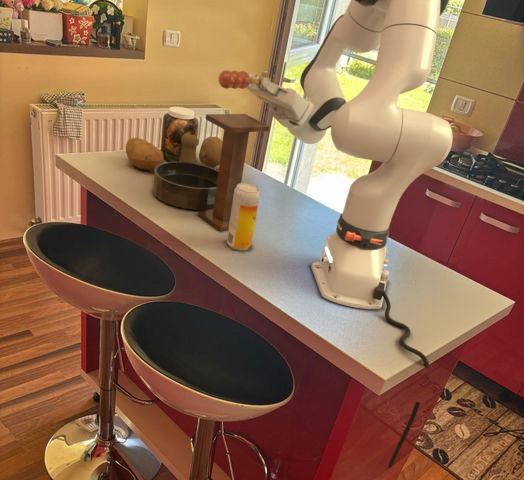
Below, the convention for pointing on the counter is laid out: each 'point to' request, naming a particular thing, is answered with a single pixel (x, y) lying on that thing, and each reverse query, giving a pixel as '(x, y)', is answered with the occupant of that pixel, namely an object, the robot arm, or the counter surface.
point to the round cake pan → (186, 185)
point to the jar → (177, 131)
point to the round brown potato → (211, 151)
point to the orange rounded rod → (237, 79)
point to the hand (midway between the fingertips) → (258, 78)
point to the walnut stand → (230, 163)
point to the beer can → (243, 216)
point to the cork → (188, 148)
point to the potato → (143, 154)
